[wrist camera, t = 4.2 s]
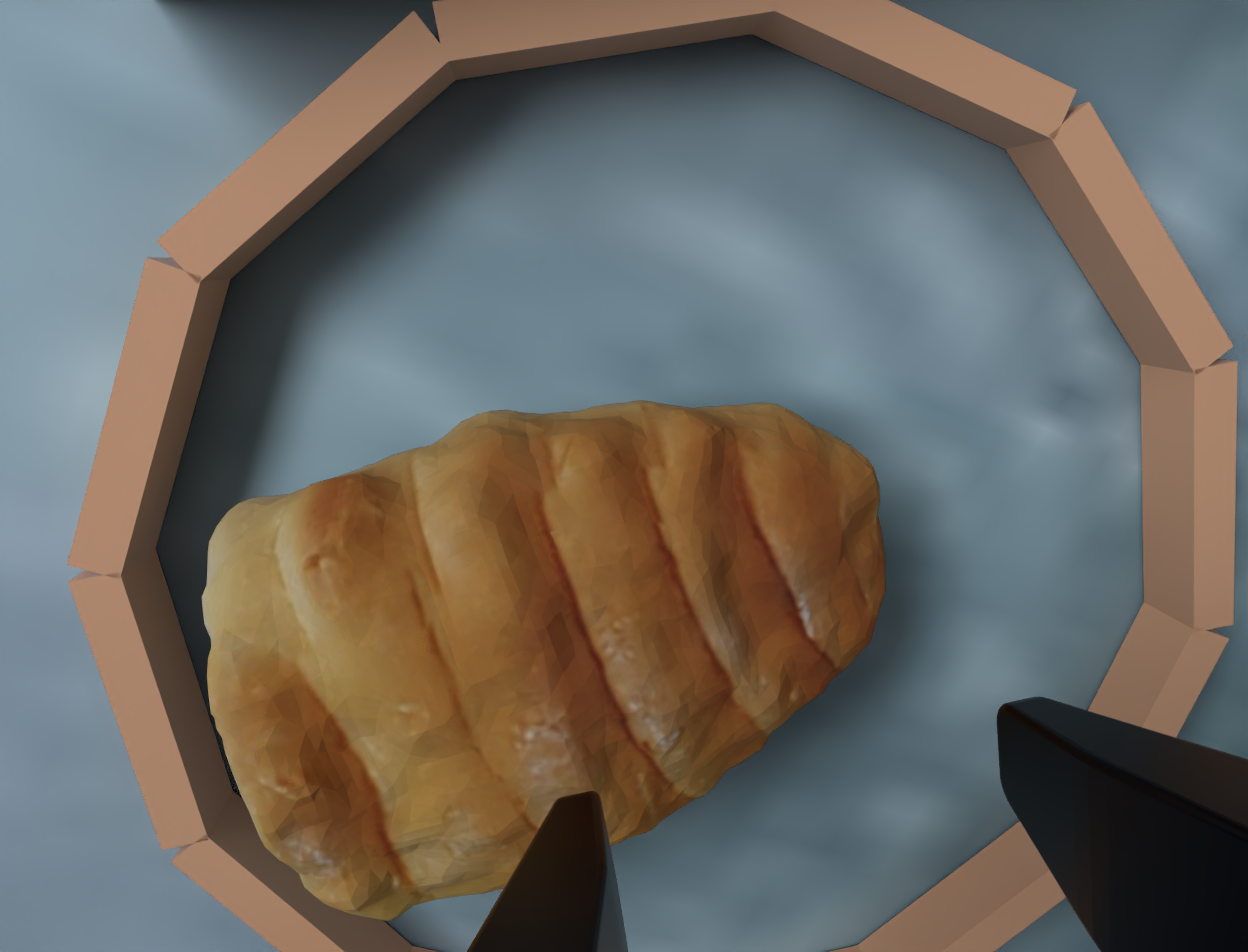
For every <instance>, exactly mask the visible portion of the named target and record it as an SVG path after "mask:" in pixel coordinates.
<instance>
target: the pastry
mask: <svg viewBox="0 0 1248 952" xmlns="http://www.w3.org/2000/svg"><path fill="white" fill-rule="evenodd" d="M879 503H880V490H879V484H878V481H877V477H876V474H875V471H874V468H873V466H872V465H871V463H870V462H869V460H868V459H867V458H866V457H864V456H863V455H862V454H861V453H859V452H858V451H857V450H856V449H854V448H853V447H852V446H851V445H850V444H848V443H846V442H844V441H842V440H840V439H838V438H836V437H834V436H833V435H831V434H829V433H828V432H826V431H825V430H823V429H821V428H818V427H816V426H814V425H812V424H810V423H808V422H807V421H806V420H804V419H803V418H802V417H801V416H799V415H797V414H795V413H794V412H792V411H790V410H788V409H786V408H784V407H782V406H780V405H778V404H771V403H754V404H745V405H727V406H719V407H713V406H706V407H698V408H688V407H681V406H674V405H667V404H661V403H656V402H650V401H642V400H640V401H632V402H627V403H616V404H608V405H602V406H596V407H592V408H588V409H585V410H581V411H575V412H558V413H549V414H534V413H522V412H517V411H511V410H498V411H489V412H485V413H481V414H477V415H475V416H473V417H471V418H469V419H466V420H464V421H462V422H460V423H459V424H458V425H457V426H456V427H455V428H454V429H452V430H451V431H450V432H449V433H448V434H447V435H446V436H444V437H443V438H441V439H440V440H438V441H437V442H435V443H434V444H432V445H431V446H426V447H420V448H415V449H412V450H408V451H405V452H401V453H398V454H394V455H392V456H390V457H387V458H385V459H383V460H381V461H379V462H377V463H375V464H371V465H367V466H364V467H362V468H360V469H357V470H355V471H352V472H349V473H346V474H343V475H341V476H339V477H335V478H332V479H328V480H324V481H320V482H317V483H314V484H311V485H309V486H308V487H306V488H304V489H301V490H298V491H296V492H293V493H291V494H285V495H275V496H264V497H255V498H251V499H248V500H245V501H242V502H240V503H238V504H237V505H235V506H234V507H233V508H232V509H230V510H229V511H228V512H227V513H226V515H225V516H224V517H223V518H222V520H221V521H220V522H219V524H218V525H217V527H216V529H215V531H214V533H213V535H212V537H211V539H210V541H209V547H208V564H207V585H206V588H205V590H204V593H203V595H202V607H203V616H204V624H205V626H206V629H207V631H208V633H209V636H210V638H211V650H210V653H209V657H208V667H207V683H208V694H209V702H210V710H211V714H212V716H213V717H214V718H215V724H216V729H217V730H218V732H219V734H220V735H221V737H222V739H223V744H224V750H225V754H226V756H227V759H228V762H229V765H230V768H231V770H232V773H233V776H234V778H235V781H236V783H237V786H238V789H239V791H240V794H241V796H242V798H243V800H244V802H245V804H246V806H247V808H248V810H249V813H250V815H251V818H252V820H253V822H254V825H255V827H256V830H257V832H258V834H259V837H260V839H261V840H262V842H263V844H264V846H265V848H267V849H268V850H269V851H270V852H271V853H272V854H273V855H274V856H275V857H276V858H277V859H278V860H280V861H282V862H284V863H285V864H287V865H289V866H290V867H292V868H293V869H294V870H295V871H296V872H298V873H299V875H300V878H301V880H302V883H303V885H304V888H306V889H307V890H308V891H309V892H310V893H312V894H313V895H314V896H315V897H316V898H318V899H319V900H320V901H321V902H323V903H324V904H326V905H328V906H330V907H333V908H336V909H338V910H341V911H344V912H347V913H349V914H353V915H358V916H364V917H369V918H375V919H381V920H386V921H390V920H392V919H394V918H396V917H398V916H400V915H402V914H403V913H404V912H406V911H407V910H408V909H410V908H411V907H412V906H414V905H417V904H420V903H424V902H428V901H431V900H435V899H441V898H448V897H455V896H462V895H470V894H484V893H487V892H491V891H494V890H498V889H503V888H505V886H506V884H507V882H508V881H509V879H510V877H511V876H512V874H513V872H514V870H515V869H516V867H517V865H518V864H519V862H520V860H521V858H522V857H523V855H524V853H525V852H526V850H527V848H528V846H529V845H530V843H531V841H532V840H533V838H534V836H535V835H536V833H537V831H538V829H539V828H540V826H541V824H542V823H543V821H544V819H545V817H546V816H547V814H548V812H549V811H550V809H551V807H552V805H553V804H554V802H555V801H556V800H557V799H558V798H560V797H563V796H568V795H573V794H578V793H583V792H587V791H596V792H597V793H598V794H599V795H600V798H601V802H602V807H603V812H604V817H605V822H606V827H607V832H608V838H609V843H610V846H612V845H614V844H617V843H620V842H622V841H624V840H625V839H627V838H629V837H632V836H635V835H639V834H642V833H646V832H648V831H650V830H652V829H653V828H654V827H655V826H656V825H657V824H658V823H659V822H660V821H661V820H662V819H664V818H665V817H667V816H668V815H670V814H672V813H673V812H675V811H676V810H678V809H679V808H681V807H682V806H684V805H686V804H687V803H689V802H691V801H692V800H694V799H696V798H699V797H702V796H704V795H705V794H706V793H707V792H709V791H710V790H711V789H712V788H713V787H714V786H715V785H716V784H717V782H718V781H719V780H720V778H721V777H722V776H723V774H724V773H725V772H726V771H727V770H728V769H730V768H732V767H734V766H736V765H738V764H740V763H741V762H743V761H744V760H746V759H747V758H749V757H750V756H752V755H753V754H754V753H756V752H757V751H759V750H760V749H762V747H763V746H764V744H765V743H766V741H767V739H768V738H769V736H770V734H771V732H772V731H774V730H775V729H776V728H778V727H779V726H781V725H782V724H783V723H784V722H785V721H786V720H787V719H788V718H789V717H790V716H791V715H792V714H793V713H794V712H796V711H797V710H799V709H800V708H801V707H803V706H804V705H805V704H807V703H808V702H809V701H811V700H812V699H814V698H815V697H817V696H819V695H820V694H822V693H823V691H824V690H825V688H826V687H827V685H828V684H829V682H830V681H831V680H833V679H834V678H835V677H836V676H838V675H839V674H840V673H841V672H842V671H843V670H845V669H846V668H847V667H848V666H849V664H850V663H851V662H852V661H853V660H854V659H855V658H856V656H857V655H858V654H859V653H860V652H861V651H862V650H863V649H864V648H865V647H867V645H868V644H869V642H870V640H871V638H872V634H873V631H874V627H875V624H876V620H877V617H878V613H879V610H880V607H881V603H882V600H883V597H884V593H885V590H886V589H885V554H884V546H883V539H882V533H881V527H880V523H879V518H878V509H879Z"/></svg>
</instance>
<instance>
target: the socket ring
mask: <svg viewBox="0 0 1248 952" xmlns="http://www.w3.org/2000/svg"><path fill="white" fill-rule="evenodd" d="M432 4H433V9H434V14H435V19H436V24H437V29H438V34H439V39H440V43H439V42H438V40H437V39H436V38H435V37H434V35H433V34H432V33H431V32H430V30H429V29H428V28H427V27H426V25H425V24H424V23H423V22H422V20H421V19H420V18H419V17H418V15H417V14H416V13H415V12H414V11H413V12H411V13H410V14H409V15H408V16H407V17H406V18H405V19H404V20H402V21H401V22H400V23H399V24H398V25H397V26H396V27H395V28H394V29H392V30H391V31H390V32H389V33H388V34H387V35H386V36H385V37H384V38H382V39H381V40H380V41H379V42H378V43H377V44H376V45H375V46H373V47H372V48H371V49H370V50H369V51H368V52H367V53H366V54H365V55H363V56H362V57H361V58H360V59H359V60H358V61H357V62H356V63H354V64H353V65H352V66H351V67H350V68H349V69H348V70H347V71H346V72H344V73H343V74H342V75H341V76H340V77H339V78H338V79H337V80H336V81H334V82H333V83H332V84H331V85H330V86H329V87H328V88H327V89H325V90H324V91H323V92H322V93H321V94H320V95H319V96H318V97H317V98H315V99H314V100H313V101H312V102H311V103H310V104H309V105H308V106H306V107H305V108H304V109H303V110H302V111H301V112H300V113H299V114H298V115H296V116H295V117H294V118H293V119H292V120H291V121H290V122H289V123H288V124H286V125H285V126H284V127H283V128H282V129H281V130H280V131H279V132H277V133H276V134H275V135H274V136H273V137H272V138H271V139H270V140H269V141H267V142H266V143H265V144H264V145H263V146H262V147H261V148H260V149H258V150H257V151H256V152H255V153H254V154H253V155H252V156H251V157H250V158H248V159H247V160H246V161H245V162H244V163H243V164H242V165H241V166H239V167H238V168H237V169H236V170H235V171H234V172H233V173H232V174H231V175H229V176H228V177H227V178H226V179H225V180H224V181H223V182H222V183H221V184H219V185H218V186H217V187H216V188H215V189H214V190H213V191H212V192H210V193H209V194H208V195H207V196H206V197H205V198H204V199H203V200H202V201H200V202H199V203H198V204H197V205H196V206H195V207H194V208H193V209H191V210H190V211H189V212H188V213H187V214H186V215H185V216H184V217H183V218H181V219H180V220H179V221H178V222H177V223H176V224H175V225H174V226H173V227H171V228H170V229H169V230H168V231H167V232H166V233H165V234H164V235H162V236H161V237H160V238H159V239H158V240H157V242H158V243H159V244H160V245H161V247H162V248H163V249H164V250H165V251H166V252H167V253H168V254H169V255H170V256H171V257H172V258H151V257H146V261H145V265H144V269H143V272H142V276H141V280H140V284H139V288H138V292H137V296H136V300H135V303H134V307H133V311H132V315H131V319H130V323H129V327H128V331H127V335H126V338H125V342H124V346H123V350H122V354H121V358H120V362H119V366H118V370H117V373H116V377H115V381H114V385H113V389H112V393H111V397H110V401H109V404H108V408H107V412H106V416H105V420H104V424H103V428H102V432H101V436H100V439H99V443H98V447H97V451H96V455H95V459H94V463H93V467H92V470H91V474H90V478H89V482H88V486H87V490H86V494H85V498H84V502H83V505H82V509H81V513H80V517H79V521H78V525H77V529H76V533H75V537H74V540H73V544H72V548H71V552H70V556H69V560H68V564H67V565H70V566H74V567H77V568H81V569H84V571H83V572H81V573H80V574H79V575H77V576H76V577H74V578H73V579H72V580H70V581H69V582H68V583H69V586H70V589H71V592H72V595H73V598H74V600H75V603H76V606H77V609H78V612H79V615H80V618H81V620H82V623H83V626H84V629H85V632H86V635H87V638H88V640H89V643H90V646H91V649H92V652H93V655H94V658H95V660H96V663H97V666H98V669H99V672H100V675H101V678H102V680H103V683H104V686H105V689H106V692H107V695H108V698H109V700H110V703H111V706H112V709H113V712H114V715H115V718H116V720H117V723H118V726H119V729H120V732H121V735H122V738H123V740H124V743H125V746H126V749H127V752H128V755H129V758H130V760H131V763H132V766H133V769H134V772H135V775H136V778H137V780H138V783H139V786H140V789H141V792H142V795H143V798H144V800H145V803H146V806H147V809H148V812H149V815H150V818H151V820H152V823H153V826H154V829H155V832H156V835H157V838H158V840H159V843H160V846H161V849H162V850H164V849H169V848H174V847H178V846H181V847H180V848H179V850H178V852H177V853H176V855H175V857H174V859H173V860H172V862H171V863H172V864H173V865H175V866H176V867H177V868H178V869H179V870H181V871H182V872H183V873H184V874H186V875H187V876H188V877H189V878H191V879H192V880H193V881H194V882H195V883H197V884H198V885H199V886H200V887H202V888H203V889H204V890H205V891H206V892H208V893H209V894H210V895H211V896H213V897H214V898H215V899H216V900H217V901H219V902H220V903H221V904H222V905H224V906H225V907H226V908H227V909H228V910H230V911H231V912H232V913H233V914H235V915H236V916H237V917H238V918H240V919H241V920H242V921H243V922H244V923H246V924H247V925H248V926H249V927H251V928H252V929H253V930H254V931H255V932H257V933H258V934H259V935H260V936H262V937H263V938H264V939H265V940H266V941H268V942H269V943H270V944H271V945H273V946H274V947H275V948H276V949H278V950H279V951H280V952H438V951H433V950H429V949H424V948H420V947H415V946H412V945H411V944H410V943H409V942H407V941H406V940H405V939H404V938H403V937H402V936H400V935H399V934H398V933H397V932H396V931H395V930H394V929H392V928H391V927H390V926H389V925H388V924H387V923H385V922H384V921H383V920H381V919H375V918H369V917H364V916H358V915H353V914H349V913H347V912H344V911H341V910H338V909H336V908H333V907H330V906H328V905H326V904H324V903H323V902H321V901H320V900H319V899H318V898H316V897H315V896H314V895H313V894H312V893H310V892H309V891H308V890H307V889H306V888H304V885H303V883H302V880H301V878H300V875H299V873H298V872H296V871H295V870H294V869H293V868H292V867H290V866H289V865H287V864H285V863H284V862H282V861H280V860H278V859H277V858H276V857H275V856H274V855H273V854H272V853H271V852H270V851H269V850H268V849H267V848H265V846H264V844H263V842H262V840H261V839H260V837H259V834H258V832H257V830H256V827H255V825H254V822H253V820H252V818H251V815H250V813H249V810H248V808H247V806H246V804H245V802H244V800H243V799H242V798H241V797H240V796H238V795H237V794H236V793H235V792H234V791H233V790H232V786H231V783H230V780H229V777H228V774H227V771H226V768H225V765H224V761H223V758H222V755H221V752H220V749H219V746H218V743H217V740H216V736H215V733H214V730H213V727H212V724H211V721H210V718H209V714H208V711H207V708H206V705H205V702H204V699H203V696H202V693H201V689H200V686H199V683H198V680H197V677H196V674H195V671H194V668H193V664H192V661H191V658H190V655H189V652H188V649H187V646H186V642H185V639H184V636H183V633H182V630H181V627H180V624H179V621H178V617H177V614H176V611H175V608H174V605H173V602H172V599H171V596H170V592H169V589H168V586H167V583H166V580H165V577H164V574H163V570H162V567H161V564H160V561H159V558H158V555H157V552H156V546H157V542H158V538H159V535H160V531H161V528H162V524H163V520H164V517H165V513H166V510H167V506H168V502H169V499H170V495H171V492H172V488H173V484H174V481H175V477H176V473H177V470H178V466H179V463H180V459H181V455H182V452H183V448H184V445H185V441H186V437H187V434H188V430H189V427H190V423H191V419H192V416H193V412H194V409H195V405H196V401H197V398H198V394H199V391H200V387H201V383H202V380H203V376H204V372H205V369H206V365H207V362H208V358H209V354H210V351H211V347H212V344H213V340H214V336H215V333H216V329H217V326H218V322H219V318H220V315H221V311H222V308H223V304H224V300H225V297H226V293H227V290H228V286H229V282H230V279H231V278H232V277H234V276H235V275H236V274H237V273H238V272H239V271H240V270H241V269H243V268H244V267H245V266H246V265H247V264H248V263H249V262H250V261H252V260H253V259H254V258H255V257H256V256H257V255H258V254H260V253H261V252H262V251H263V250H264V249H265V248H266V247H267V246H269V245H270V244H271V243H272V242H273V241H274V240H275V239H276V238H278V237H279V236H280V235H281V234H282V233H283V232H284V231H286V230H287V229H288V228H289V227H290V226H291V225H292V224H293V223H295V222H296V221H297V220H298V219H299V218H300V217H301V216H302V215H304V214H305V213H306V212H307V211H308V210H309V209H310V208H312V207H313V206H314V205H315V204H316V203H317V202H318V201H319V200H321V199H322V198H323V197H324V196H325V195H326V194H327V193H328V192H330V191H331V190H332V189H333V188H334V187H335V186H336V185H338V184H339V183H340V182H341V181H342V180H343V179H344V178H345V177H347V176H348V175H349V174H350V173H351V172H352V171H353V170H354V169H356V168H357V167H358V166H359V165H360V164H361V163H362V162H364V161H365V160H366V159H367V158H368V157H369V156H370V155H371V154H373V153H374V152H375V151H376V150H377V149H378V148H379V147H380V146H382V145H383V144H384V143H385V142H386V141H387V140H388V139H390V138H391V137H392V136H393V135H394V134H395V133H396V132H397V131H399V130H400V129H401V128H402V127H403V126H404V125H405V124H406V123H408V122H409V121H410V120H411V119H412V118H413V117H414V116H416V115H417V114H418V113H419V112H420V111H421V110H422V109H423V108H425V107H426V106H427V105H428V104H429V103H430V102H431V101H432V100H434V99H435V98H436V97H437V96H438V95H439V94H440V93H442V92H443V91H444V90H445V89H446V88H447V87H448V86H449V85H451V84H452V83H453V82H454V81H455V80H459V79H465V78H472V77H478V76H485V75H491V74H498V73H504V72H510V71H517V70H523V69H530V68H536V67H543V66H549V65H556V64H562V63H568V62H575V61H581V60H588V59H594V58H601V57H607V56H613V55H620V54H626V53H633V52H639V51H646V50H652V49H659V48H665V47H671V46H678V45H684V44H691V43H697V42H704V41H710V40H716V39H723V38H729V37H736V36H742V35H749V34H753V35H755V36H757V37H759V38H762V39H764V40H766V41H768V42H770V43H773V44H775V45H777V46H779V47H781V48H784V49H786V50H788V51H790V52H792V53H795V54H797V55H799V56H801V57H803V58H806V59H808V60H810V61H812V62H814V63H817V64H819V65H821V66H823V67H825V68H828V69H830V70H832V71H834V72H836V73H839V74H841V75H843V76H845V77H847V78H850V79H852V80H854V81H856V82H858V83H861V84H863V85H865V86H867V87H870V88H872V89H874V90H876V91H878V92H881V93H883V94H885V95H887V96H889V97H892V98H894V99H896V100H898V101H900V102H903V103H905V104H907V105H909V106H911V107H914V108H916V109H918V110H920V111H922V112H925V113H927V114H929V115H931V116H933V117H936V118H938V119H940V120H942V121H944V122H947V123H949V124H951V125H953V126H955V127H958V128H960V129H962V130H964V131H966V132H969V133H971V134H973V135H975V136H977V137H980V138H982V139H984V140H986V141H988V142H991V143H993V144H995V145H997V146H999V147H1002V148H1004V149H1006V151H1007V153H1008V154H1009V156H1010V157H1011V159H1012V161H1013V162H1014V164H1015V165H1016V167H1017V168H1018V170H1019V172H1020V173H1021V175H1022V176H1023V178H1024V180H1025V181H1026V183H1027V184H1028V186H1029V188H1030V189H1031V191H1032V192H1033V194H1034V196H1035V197H1036V199H1037V200H1038V202H1039V203H1040V205H1041V207H1042V208H1043V210H1044V211H1045V213H1046V215H1047V216H1048V218H1049V219H1050V221H1051V223H1052V224H1053V226H1054V227H1055V229H1056V231H1057V232H1058V234H1059V235H1060V237H1061V238H1062V240H1063V242H1064V243H1065V245H1066V246H1067V248H1068V250H1069V251H1070V253H1071V254H1072V256H1073V258H1074V259H1075V261H1076V262H1077V264H1078V265H1079V267H1080V269H1081V270H1082V272H1083V273H1084V275H1085V277H1086V278H1087V280H1088V281H1089V283H1090V285H1091V286H1092V288H1093V289H1094V291H1095V293H1096V294H1097V296H1098V297H1099V299H1100V300H1101V302H1102V304H1103V305H1104V307H1105V308H1106V310H1107V312H1108V313H1109V315H1110V316H1111V318H1112V320H1113V321H1114V323H1115V324H1116V326H1117V328H1118V329H1119V331H1120V332H1121V334H1122V335H1123V337H1124V339H1125V340H1126V342H1127V343H1128V345H1129V347H1130V348H1131V350H1132V351H1133V353H1134V355H1135V356H1136V358H1137V359H1138V361H1139V362H1140V364H1141V432H1142V508H1143V583H1144V603H1143V605H1142V606H1141V608H1140V610H1139V612H1138V614H1137V616H1136V618H1135V620H1134V622H1133V624H1132V626H1131V628H1130V630H1129V632H1128V634H1127V636H1126V638H1125V639H1124V641H1123V643H1122V645H1121V647H1120V649H1119V651H1118V653H1117V655H1116V657H1115V659H1114V661H1113V663H1112V665H1111V667H1110V669H1109V671H1108V672H1107V674H1106V676H1105V678H1104V680H1103V682H1102V684H1101V686H1100V688H1099V690H1098V692H1097V694H1096V696H1095V698H1094V700H1093V702H1092V703H1091V705H1090V707H1089V709H1088V711H1090V712H1094V713H1097V714H1100V715H1104V716H1107V717H1110V718H1113V719H1117V720H1120V721H1123V722H1127V723H1130V724H1133V725H1136V726H1140V727H1143V728H1146V729H1149V730H1153V731H1156V732H1159V733H1163V734H1166V735H1169V736H1172V737H1177V735H1178V733H1179V731H1180V729H1181V728H1182V726H1183V724H1184V722H1185V720H1186V718H1187V716H1188V715H1189V713H1190V711H1191V709H1192V707H1193V705H1194V704H1195V702H1196V700H1197V698H1198V696H1199V694H1200V692H1201V691H1202V689H1203V687H1204V685H1205V683H1206V681H1207V679H1208V678H1209V676H1210V674H1211V672H1212V670H1213V668H1214V667H1215V665H1216V663H1217V661H1218V659H1219V657H1220V655H1221V654H1222V652H1223V650H1224V648H1225V646H1226V644H1227V642H1228V641H1229V638H1227V637H1225V636H1223V635H1222V634H1220V633H1218V632H1216V631H1214V630H1212V629H1214V628H1219V627H1224V626H1229V625H1233V624H1234V557H1235V491H1236V425H1237V361H1232V360H1225V359H1218V358H1219V357H1221V356H1222V355H1223V354H1224V353H1226V352H1227V351H1228V350H1229V349H1231V348H1232V347H1233V344H1232V343H1231V341H1230V339H1229V337H1228V336H1227V334H1226V332H1225V331H1224V329H1223V327H1222V326H1221V324H1220V322H1219V321H1218V319H1217V317H1216V315H1215V314H1214V312H1213V310H1212V309H1211V307H1210V305H1209V304H1208V302H1207V300H1206V298H1205V297H1204V295H1203V293H1202V292H1201V290H1200V288H1199V287H1198V285H1197V283H1196V282H1195V280H1194V278H1193V276H1192V275H1191V273H1190V271H1189V270H1188V268H1187V266H1186V265H1185V263H1184V261H1183V259H1182V258H1181V256H1180V254H1179V253H1178V251H1177V249H1176V248H1175V246H1174V244H1173V243H1172V241H1171V239H1170V237H1169V236H1168V234H1167V232H1166V231H1165V229H1164V227H1163V226H1162V224H1161V222H1160V220H1159V219H1158V217H1157V215H1156V214H1155V212H1154V210H1153V209H1152V207H1151V205H1150V204H1149V202H1148V200H1147V198H1146V197H1145V195H1144V193H1143V192H1142V190H1141V188H1140V187H1139V185H1138V183H1137V181H1136V180H1135V178H1134V176H1133V175H1132V173H1131V171H1130V170H1129V168H1128V166H1127V165H1126V163H1125V161H1124V159H1123V158H1122V156H1121V154H1120V153H1119V151H1118V149H1117V148H1116V146H1115V144H1114V142H1113V141H1112V139H1111V137H1110V136H1109V134H1108V132H1107V131H1106V129H1105V127H1104V126H1103V124H1102V122H1101V120H1100V119H1099V117H1098V115H1097V114H1096V112H1095V110H1094V109H1093V107H1092V105H1091V103H1090V102H1087V103H1083V104H1079V105H1076V106H1072V107H1070V104H1071V102H1072V100H1073V98H1074V95H1075V93H1076V91H1077V90H1076V89H1074V88H1072V87H1070V86H1067V85H1065V84H1063V83H1061V82H1059V81H1057V80H1055V79H1053V78H1051V77H1049V76H1047V75H1044V74H1042V73H1040V72H1038V71H1036V70H1034V69H1032V68H1030V67H1028V66H1026V65H1023V64H1021V63H1019V62H1017V61H1015V60H1013V59H1011V58H1009V57H1007V56H1005V55H1003V54H1000V53H998V52H996V51H994V50H992V49H990V48H988V47H986V46H984V45H982V44H979V43H977V42H975V41H973V40H971V39H969V38H967V37H965V36H963V35H961V34H959V33H956V32H954V31H952V30H950V29H948V28H946V27H944V26H942V25H940V24H938V23H935V22H933V21H931V20H929V19H927V18H925V17H923V16H921V15H919V14H917V13H915V12H912V11H910V10H908V9H906V8H904V7H902V6H900V5H898V4H896V3H894V2H892V1H889V0H440V1H434V2H432ZM1065 898H1066V896H1065V895H1064V893H1063V891H1062V890H1061V888H1060V886H1059V885H1058V883H1057V882H1056V880H1055V878H1054V877H1053V875H1052V873H1051V872H1050V870H1049V868H1048V867H1047V865H1046V863H1045V862H1044V860H1043V858H1042V857H1041V855H1040V853H1039V852H1038V850H1037V849H1036V847H1035V845H1034V844H1033V842H1032V840H1031V839H1030V837H1029V835H1028V834H1027V832H1026V830H1025V829H1024V827H1023V825H1022V824H1021V822H1020V821H1019V822H1018V823H1017V824H1015V825H1014V826H1013V827H1011V828H1010V829H1009V830H1007V831H1006V832H1005V833H1004V834H1002V835H1001V836H1000V837H998V838H997V839H996V840H994V841H993V842H992V843H990V844H989V845H988V846H987V847H985V848H984V849H983V850H981V851H980V852H979V853H977V854H976V855H975V856H973V857H972V858H971V859H970V860H968V861H967V862H966V863H964V864H963V865H962V866H960V867H959V868H958V869H956V870H955V871H954V872H953V873H951V874H950V875H949V876H947V877H946V878H945V879H943V880H942V881H941V882H939V883H938V884H937V885H935V886H934V887H933V888H932V889H930V890H929V891H928V892H926V893H925V894H924V895H922V896H921V897H920V898H918V899H917V900H916V901H915V902H913V903H912V904H911V905H909V906H908V907H907V908H905V909H904V910H903V911H901V912H900V913H899V914H898V915H896V916H895V917H894V918H892V919H891V920H890V921H888V922H887V923H886V924H884V925H883V926H882V927H881V928H879V929H878V930H877V931H875V932H874V933H873V934H871V935H870V936H869V937H867V938H866V939H865V940H864V941H862V942H861V943H860V944H858V945H856V946H851V947H847V948H843V949H838V950H834V951H830V952H994V951H996V950H997V949H998V948H999V947H1001V946H1002V945H1003V944H1005V943H1006V942H1007V941H1009V940H1010V939H1011V938H1013V937H1014V936H1015V935H1017V934H1018V933H1019V932H1021V931H1022V930H1023V929H1025V928H1026V927H1027V926H1029V925H1030V924H1031V923H1033V922H1034V921H1035V920H1037V919H1038V918H1039V917H1041V916H1042V915H1043V914H1045V913H1046V912H1047V911H1049V910H1050V909H1051V908H1053V907H1054V906H1055V905H1057V904H1058V903H1059V902H1061V901H1062V900H1063V899H1065Z"/></svg>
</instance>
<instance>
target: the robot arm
mask: <svg viewBox="0 0 1248 952" xmlns="http://www.w3.org/2000/svg"><path fill="white" fill-rule="evenodd" d="M997 734H998V750H999V767H1000V779H1001V784H1002V788H1003V791H1004V794H1005V796H1006V798H1007V800H1008V802H1009V804H1010V806H1011V807H1012V809H1013V811H1014V812H1015V814H1016V816H1017V817H1018V819H1019V821H1020V822H1021V824H1022V825H1023V827H1024V829H1025V830H1026V832H1027V834H1028V835H1029V837H1030V839H1031V840H1032V842H1033V844H1034V845H1035V847H1036V849H1037V850H1038V852H1039V853H1040V855H1041V857H1042V858H1043V860H1044V862H1045V863H1046V865H1047V867H1048V868H1049V870H1050V872H1051V873H1052V875H1053V877H1054V878H1055V880H1056V882H1057V883H1058V885H1059V886H1060V888H1061V890H1062V891H1063V893H1064V895H1065V896H1066V898H1067V900H1068V901H1069V903H1070V905H1071V906H1072V908H1073V910H1074V911H1075V913H1076V914H1077V916H1078V918H1079V919H1080V921H1081V922H1082V924H1083V925H1084V927H1085V929H1086V930H1087V932H1088V933H1089V935H1090V936H1091V938H1092V939H1093V941H1094V942H1095V944H1096V945H1097V947H1098V948H1099V949H1100V951H1101V952H1248V759H1245V758H1241V757H1238V756H1235V755H1232V754H1228V753H1225V752H1222V751H1218V750H1215V749H1212V748H1209V747H1205V746H1202V745H1199V744H1195V743H1192V742H1189V741H1186V740H1182V739H1179V738H1176V737H1172V736H1169V735H1166V734H1163V733H1159V732H1156V731H1153V730H1149V729H1146V728H1143V727H1140V726H1136V725H1133V724H1130V723H1127V722H1123V721H1120V720H1117V719H1113V718H1110V717H1107V716H1104V715H1100V714H1097V713H1094V712H1090V711H1087V710H1084V709H1081V708H1077V707H1074V706H1071V705H1067V704H1064V703H1061V702H1058V701H1054V700H1051V699H1048V698H1044V697H1032V698H1027V699H1023V700H1018V701H1013V702H1009V703H1005V704H1003V705H1002V706H1001V707H1000V709H999V710H998V714H997ZM467 952H628V947H627V941H626V934H625V928H624V922H623V916H622V910H621V904H620V898H619V892H618V886H617V880H616V874H615V869H614V863H613V858H612V853H611V848H610V843H609V838H608V832H607V827H606V822H605V817H604V812H603V807H602V802H601V798H600V795H599V794H598V793H597V792H596V791H587V792H583V793H578V794H573V795H568V796H563V797H560V798H558V799H557V800H556V801H555V802H554V804H553V805H552V807H551V809H550V811H549V812H548V814H547V816H546V817H545V819H544V821H543V823H542V824H541V826H540V828H539V829H538V831H537V833H536V835H535V836H534V838H533V840H532V841H531V843H530V845H529V846H528V848H527V850H526V852H525V853H524V855H523V857H522V858H521V860H520V862H519V864H518V865H517V867H516V869H515V870H514V872H513V874H512V876H511V877H510V879H509V881H508V882H507V884H506V886H505V888H504V889H503V891H502V893H501V894H500V896H499V898H498V900H497V901H496V903H495V905H494V906H493V908H492V910H491V911H490V913H489V915H488V917H487V918H486V920H485V922H484V923H483V925H482V927H481V929H480V930H479V932H478V934H477V935H476V937H475V939H474V941H473V942H472V944H471V946H470V947H469V949H468V951H467Z"/></svg>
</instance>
